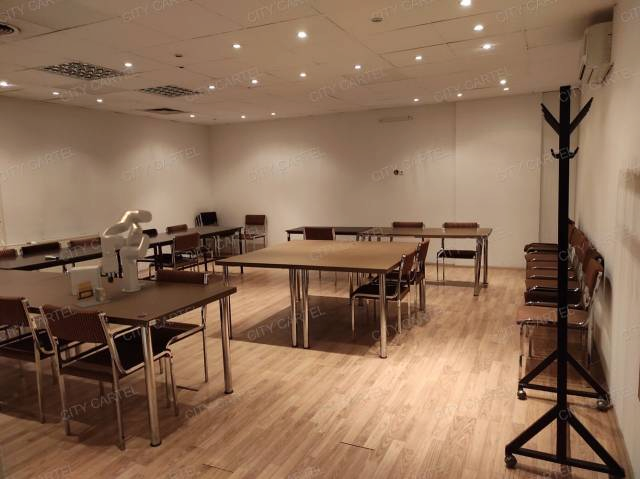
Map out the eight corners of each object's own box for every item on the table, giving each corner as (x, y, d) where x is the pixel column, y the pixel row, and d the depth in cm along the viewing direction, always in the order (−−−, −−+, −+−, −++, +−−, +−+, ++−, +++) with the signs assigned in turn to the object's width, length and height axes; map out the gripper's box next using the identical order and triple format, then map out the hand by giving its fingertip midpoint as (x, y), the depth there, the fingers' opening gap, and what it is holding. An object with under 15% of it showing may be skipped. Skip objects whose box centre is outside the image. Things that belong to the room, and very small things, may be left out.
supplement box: (102, 289, 334) (100, 264, 332) (99, 293, 322) (97, 267, 319) (75, 291, 329) (73, 266, 327) (72, 295, 316) (69, 269, 314)
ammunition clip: (79, 299, 304) (77, 282, 302) (77, 299, 305) (75, 281, 303) (93, 296, 313) (92, 278, 312) (91, 295, 314) (90, 278, 313)
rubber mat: (102, 299, 304) (101, 298, 304) (111, 302, 295) (111, 301, 295) (73, 304, 291) (73, 303, 291) (82, 308, 282) (82, 307, 282)
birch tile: (100, 299, 300) (99, 287, 299) (105, 301, 296) (104, 288, 295) (95, 300, 298) (94, 288, 297) (100, 302, 293) (99, 289, 292)
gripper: (117, 253, 307) (119, 280, 309) (94, 255, 296) (96, 284, 297) (122, 253, 302) (124, 281, 304) (99, 256, 291) (101, 285, 293)
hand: (110, 282), depth 301 cm, fingers closed
